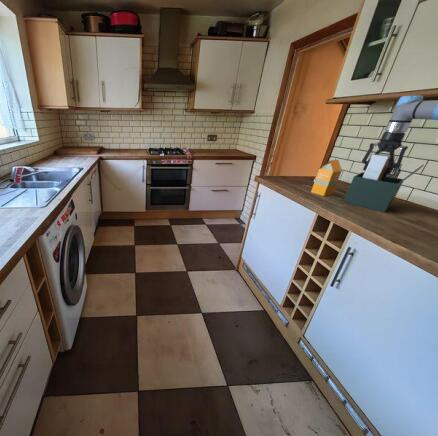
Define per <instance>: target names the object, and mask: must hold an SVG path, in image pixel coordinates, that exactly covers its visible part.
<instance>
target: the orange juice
mask: <svg viewBox="0 0 438 436" xmlns="http://www.w3.org/2000/svg"><path fill="white" fill-rule="evenodd" d="M342 172H343V169H342V167H341V164H340V160H339V159H333V160H331V159H330V160H329V161H327V162H326V163H325V164H324V165H322V166H321V167H320V168H319V169H318V172H317V174H316V177H315V179H314V182H313V185H312V188H311V190H310V193H312V194H316V195H318V196H321V197H326V196H332V195H333V194H334V191H335V189H336V186H337V184H338V182H339V179H340V176H341V174H342Z"/></svg>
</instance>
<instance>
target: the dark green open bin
mask: <svg viewBox="0 0 438 436" xmlns="http://www.w3.org/2000/svg"><path fill="white" fill-rule="evenodd" d="M363 174H364V172H363V171H362V172H360V173H357V174H355V175H353V177H352V179H351V182H350V184H349V187H348V189H347V191H346V194H345V196H344V199H343V201H342V202H343V203H345V204H348V205H349V204H350V205H353V206H357V207H361V208H366V209H369V210H374V211H378V212H381V213H385V212H386V211H387V210H388V209H389V208H390V207H391V206H392V204H393V202H394V200H395V198H396V196H397V195H398V193H399V192H400V189H401V187H402V185H403V183H404V181H403V182H401V181H402V180H403V179H404V178H399V177H392V176H388V175H387V176H386V178H385V180H384V181H378V180H373V179H367V178H363V177H362V176H363ZM400 182H401V183H400Z"/></svg>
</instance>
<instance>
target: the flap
mask: <svg viewBox="0 0 438 436" xmlns="http://www.w3.org/2000/svg"><path fill="white" fill-rule="evenodd" d="M423 167H424V164H421V165H420V166H419V167H417V168H416V169H415V170H414V171H412V172H410V173H409V174H407V176H406V177H404V178H402V179H403V180H402V181H401V182H403V183H404V181H406V180H407V179H408V178H410V177H411V176H413V175H414V174H415V173H417V172H418V171H419V170H421V169H422V168H423ZM401 182H400V183H401Z"/></svg>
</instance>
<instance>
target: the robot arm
mask: <svg viewBox="0 0 438 436" xmlns="http://www.w3.org/2000/svg"><path fill="white" fill-rule="evenodd" d="M413 120H427V121H428V120H429V121H438V99H436V100H435V99H433V100H426V99H425V100H424V96H423V95H403V96H401V97H400V98H399V99H398V101H397V103H396V104H395V106H394V109H393V111H392V114H391V116H390V118H389V120H388V122H387V125H386V127H385V129H384V132H383V133H382V135H381V138H380V140H379V141H378V142H375V143H374V142H372V143H370V144H369V148H368V149H367V151H366V154H365V155H364V157H363V158H362V160H361V163H363V164H364V166H363V168H362V171H364V172H363V173H365V171H366V169H367V166H368V164H369V162H370V160H371V158H372V156H370V155H371V153H372V151H373V150H374V148H376V147H378V149H377V151H376V152H375V153H374V154H373V155H378V154H381V153H382V152H385V153H389V155H390V156H391V159H390V167H388V168H387V170H386V172H385V174H384V176H383V178H382V181H384V180H385V178H386V176H387V177H388V175H391V174H392V173H393V171H394V169H396V168H400V167H401V165H402V163H403V159H404V156H405V152H406V151H407V150H408V149H409V146H408V145H403V144H402V142H403V139H404V138H405V136H406V132H408V130H409V128H410V126H411V124H412V121H413ZM399 148H400V149H399ZM398 149H399V150H400V152H399V154H398V158H397V161H396V164H395V158H394V156H395V151H396V150H398ZM363 175H364V174H363ZM362 177H363V176H362Z"/></svg>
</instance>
